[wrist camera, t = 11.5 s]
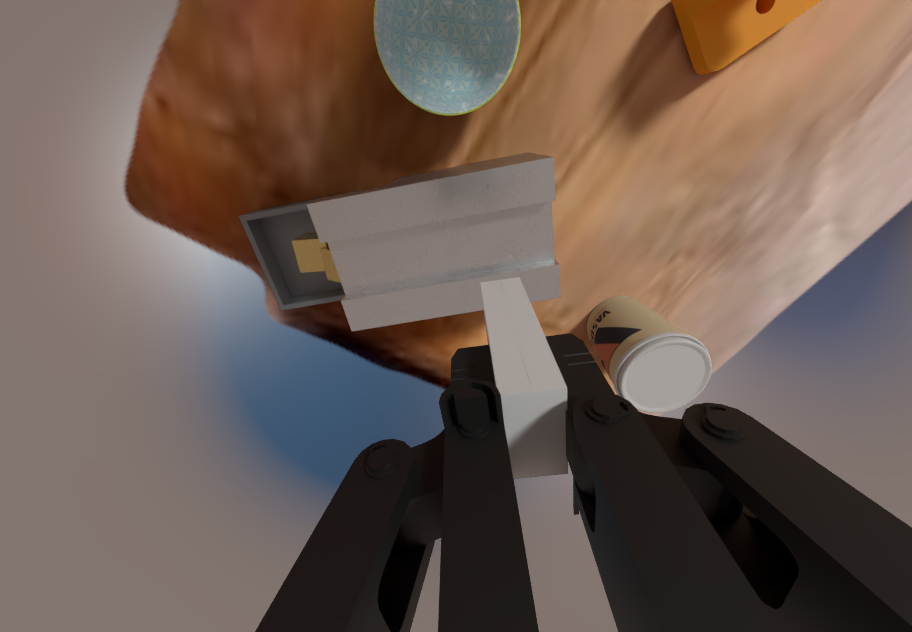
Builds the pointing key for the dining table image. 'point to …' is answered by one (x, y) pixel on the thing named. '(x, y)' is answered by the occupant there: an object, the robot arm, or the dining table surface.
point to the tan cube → (329, 264)
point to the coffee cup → (647, 355)
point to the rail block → (442, 239)
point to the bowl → (447, 50)
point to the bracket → (731, 27)
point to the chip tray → (288, 255)
